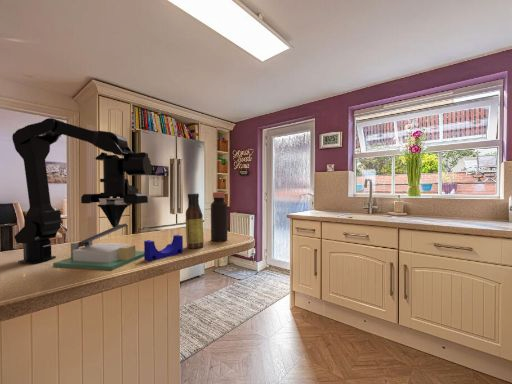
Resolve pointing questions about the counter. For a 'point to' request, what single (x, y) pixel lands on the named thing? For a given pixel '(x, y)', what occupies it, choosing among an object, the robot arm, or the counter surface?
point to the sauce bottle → (194, 222)
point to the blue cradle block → (169, 250)
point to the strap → (85, 242)
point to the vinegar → (218, 217)
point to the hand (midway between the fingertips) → (115, 227)
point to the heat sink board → (97, 264)
